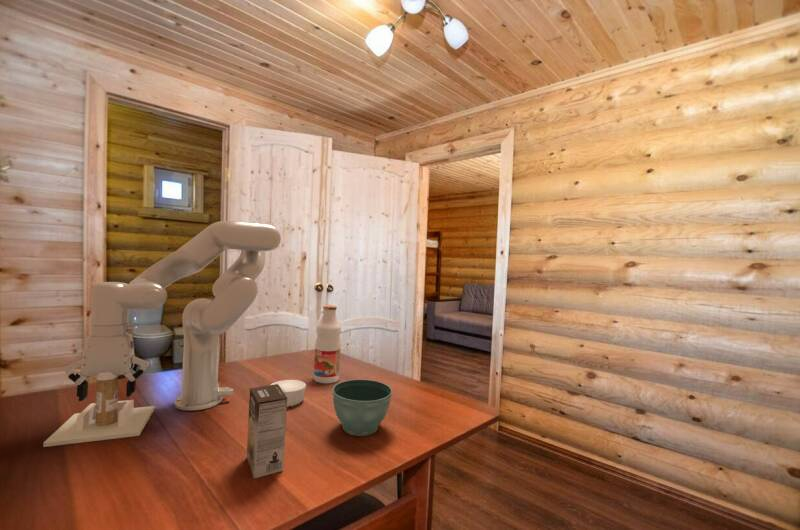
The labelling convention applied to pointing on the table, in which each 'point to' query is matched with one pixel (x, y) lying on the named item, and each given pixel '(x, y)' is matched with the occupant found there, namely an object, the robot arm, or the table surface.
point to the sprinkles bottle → (106, 398)
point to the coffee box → (266, 430)
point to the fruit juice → (327, 347)
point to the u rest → (86, 430)
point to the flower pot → (361, 405)
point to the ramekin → (292, 390)
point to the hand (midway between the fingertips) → (106, 397)
